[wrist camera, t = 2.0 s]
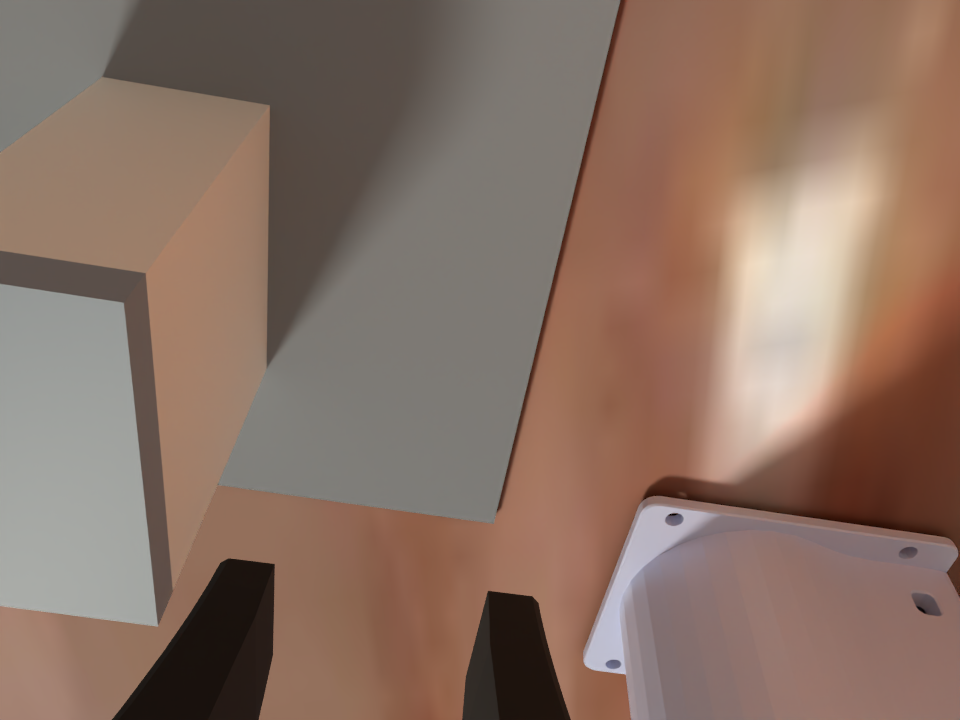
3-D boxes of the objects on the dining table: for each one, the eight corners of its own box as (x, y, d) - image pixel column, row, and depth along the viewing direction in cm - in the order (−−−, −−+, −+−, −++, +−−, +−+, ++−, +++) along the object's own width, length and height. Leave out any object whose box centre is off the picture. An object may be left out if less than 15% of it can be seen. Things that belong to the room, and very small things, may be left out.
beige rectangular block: (269, 104, 18) (123, 303, 11) (266, 368, 22) (157, 626, 15) (102, 76, 17) (-147, 261, 11) (130, 347, 22) (-40, 600, 15)
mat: (635, -74, 16) (637, -71, 15) (494, 516, 25) (493, 523, 25) (-486, -282, 15) (-503, -283, 14) (-200, 418, 24) (-207, 425, 24)
